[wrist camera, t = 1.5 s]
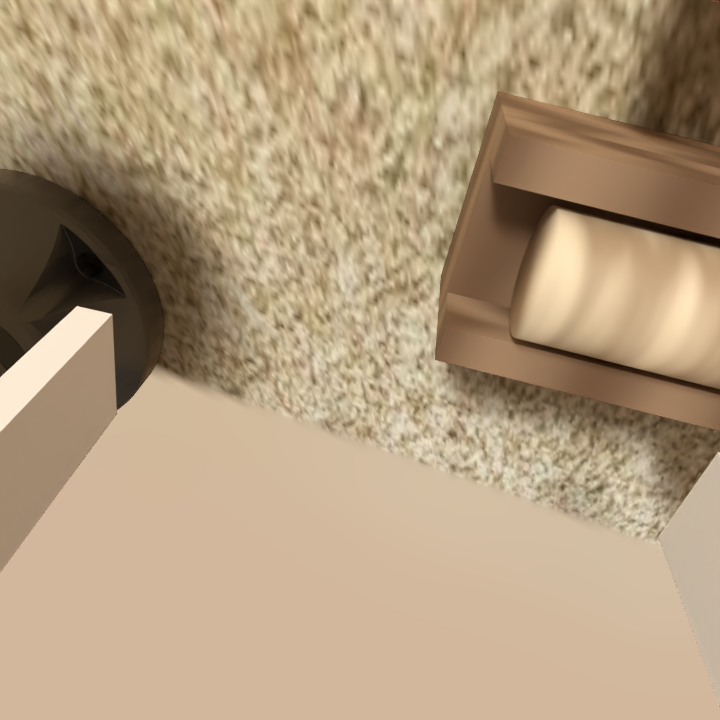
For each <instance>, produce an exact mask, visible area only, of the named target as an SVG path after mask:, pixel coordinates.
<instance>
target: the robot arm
mask: <svg viewBox="0 0 720 720" xmlns="http://www.w3.org/2000/svg"><path fill="white" fill-rule="evenodd" d="M163 335H164V322H163V314H162V308H161V304H160V300H159V296H158V293H157V290H156V287H155V285H154V283H153V280H152V278H151V276H150V274H149V272H148V270H147V268H146V266H145V265H144V263H143V261H142V259H141V258H140V256H139V255H138V253H137V252H136V250H135V249H134V248H133V246H132V245H131V244H130V242H129V241H128V240H127V239H126V238H125V237H124V235H123V234H122V233H121V232H120V231H119V230H118V229H117V228H116V227H115V226H114V225H113V224H112V223H111V222H110V221H109V220H108V219H107V218H106V217H105V216H104V215H102V214H101V213H100V212H99V211H98V210H97V209H95V208H94V207H93V206H91V205H90V204H89V203H87V202H86V201H84V200H83V199H81V198H80V197H78V196H77V195H75V194H73V193H72V192H70V191H68V190H66V189H64V188H62V187H61V186H59V185H57V184H54V183H52V182H50V181H47V180H45V179H42V178H39V177H37V176H34V175H30V174H27V173H23V172H18V171H13V170H6V169H0V572H1V571H2V570H3V568H4V567H5V566H6V564H7V563H8V561H9V560H10V559H11V557H12V556H13V555H14V553H15V552H16V551H17V549H18V548H19V546H20V545H21V544H22V542H23V541H24V540H25V538H26V537H27V536H28V534H29V533H30V531H31V530H32V529H33V527H34V526H35V525H36V523H37V522H38V520H39V519H40V518H41V516H42V515H43V514H44V512H45V511H46V510H47V508H48V507H49V506H50V504H51V503H52V501H53V500H54V499H55V497H56V496H57V495H58V493H59V492H60V491H61V489H62V488H63V487H64V485H65V484H66V482H67V481H68V480H69V478H70V477H71V476H72V474H73V473H74V471H75V470H76V469H77V467H78V466H79V465H80V463H81V462H82V461H83V459H84V458H85V457H86V455H87V454H88V452H89V451H90V450H91V448H92V447H93V446H94V444H95V443H96V441H97V440H98V439H99V437H100V436H101V435H102V433H103V432H104V430H105V429H106V428H107V427H108V425H109V424H110V422H111V421H112V420H113V418H114V417H115V415H116V414H117V410H118V409H119V408H121V407H122V406H123V405H124V404H125V403H127V402H128V401H129V400H130V399H131V397H133V396H134V394H135V393H136V392H137V390H138V389H139V388H140V387H141V385H142V384H143V383H144V381H145V380H146V379H147V377H148V376H149V375H150V374H151V372H152V370H153V369H154V367H155V365H156V363H157V361H158V358H159V356H160V353H161V349H162V344H163ZM658 537H659V540H660V543H661V546H662V548H663V551H664V554H665V557H666V559H667V562H668V565H669V568H670V571H671V573H672V576H673V579H674V582H675V584H676V587H677V589H678V593H679V595H680V598H681V601H682V604H683V606H684V609H685V612H686V615H687V617H688V620H689V623H690V626H691V628H692V631H693V634H694V637H695V640H696V642H697V645H698V648H699V650H700V653H701V656H702V659H703V661H704V664H705V667H706V670H707V673H708V675H709V678H710V681H711V684H712V687H713V689H714V692H715V695H716V698H717V700H718V703H719V706H720V453H719V452H718V453H717V454H716V455H715V457H714V458H713V460H712V461H711V463H710V464H709V465H708V467H707V468H706V470H705V471H704V473H703V474H702V475H701V477H700V478H699V480H698V481H697V482H696V484H695V485H694V487H693V488H692V490H691V491H690V492H689V494H688V495H687V497H686V498H685V500H684V501H683V502H682V504H681V505H680V507H679V508H678V509H677V511H676V512H675V514H674V515H673V517H672V518H671V519H670V521H669V522H668V524H667V525H666V527H665V528H664V529H663V531H662V532H661V534H660V535H659V536H658Z"/></svg>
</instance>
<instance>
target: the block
mask: <svg viewBox="0 0 720 720" xmlns="http://www.w3.org/2000/svg"><path fill="white" fill-rule="evenodd" d="M552 205H556V206H560V207H564V208H568V209H572V210H576V211H580V212H584V213H588V214H592V215H596V216H600V217H604V218H608V219H612V220H616V221H620V222H624V223H628V224H632V225H636V226H640V227H644V228H648V229H652V230H656V231H660V232H665V233H669V234H673V235H677V236H681V237H685V238H689V239H693V240H697V241H701V242H705V243H709V244H713V245H717V246H720V146H716V145H712V144H708V143H704V142H700V141H695V140H691V139H687V138H683V137H679V136H675V135H671V134H667V133H663V132H659V131H655V130H651V129H647V128H643V127H639V126H635V125H631V124H627V123H623V122H619V121H615V120H611V119H607V118H602V117H598V116H594V115H590V114H586V113H582V112H578V111H574V110H570V109H566V108H562V107H558V106H554V105H550V104H546V103H542V102H538V101H534V100H530V99H526V98H522V97H518V96H514V95H509V94H505V93H501V92H498V93H497V96H496V99H495V102H494V106H493V109H492V112H491V115H490V119H489V122H488V125H487V128H486V132H485V135H484V138H483V141H482V145H481V148H480V151H479V154H478V158H477V161H476V164H475V167H474V171H473V174H472V177H471V180H470V184H469V187H468V190H467V193H466V196H465V200H464V203H463V206H462V209H461V213H460V216H459V219H458V222H457V226H456V229H455V232H454V235H453V239H452V242H451V245H450V248H449V252H448V255H447V258H446V261H445V265H444V268H443V271H442V274H441V283H440V297H439V311H438V325H437V339H436V353H435V360H438V361H442V362H446V363H450V364H454V365H458V366H462V367H466V368H470V369H474V370H478V371H482V372H486V373H490V374H494V375H498V376H502V377H506V378H510V379H514V380H518V381H522V382H526V383H530V384H534V385H538V386H542V387H546V388H550V389H554V390H558V391H562V392H566V393H570V394H574V395H578V396H582V397H586V398H590V399H594V400H598V401H602V402H606V403H610V404H614V405H618V406H622V407H626V408H630V409H634V410H638V411H642V412H646V413H650V414H654V415H658V416H662V417H666V418H670V419H674V420H678V421H682V422H686V423H690V424H694V425H698V426H702V427H706V428H710V429H714V430H718V431H720V389H717V388H713V387H709V386H705V385H701V384H697V383H693V382H689V381H685V380H681V379H677V378H673V377H669V376H665V375H661V374H657V373H653V372H649V371H645V370H641V369H637V368H633V367H629V366H625V365H621V364H617V363H613V362H609V361H605V360H601V359H597V358H593V357H589V356H585V355H581V354H577V353H573V352H569V351H565V350H561V349H557V348H553V347H549V346H545V345H541V344H537V343H533V342H529V341H525V340H521V339H517V338H514V337H513V336H512V334H511V331H510V311H511V303H512V297H513V292H514V288H515V283H516V280H517V276H518V272H519V269H520V265H521V262H522V259H523V256H524V253H525V251H526V248H527V245H528V243H529V240H530V238H531V236H532V234H533V231H534V229H535V227H536V225H537V223H538V222H539V220H540V218H541V217H542V215H543V214H544V212H545V211H546V210H547V209H548V208H549V207H550V206H552Z"/></svg>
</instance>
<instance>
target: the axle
mask: <svg viewBox="0 0 720 720" xmlns="http://www.w3.org/2000/svg"><path fill="white" fill-rule="evenodd" d="M510 331H511V334H512V336H513V337H514V338H517V339H521V340H525V341H529V342H533V343H537V344H541V345H545V346H549V347H553V348H557V349H561V350H565V351H569V352H573V353H577V354H581V355H585V356H589V357H593V358H597V359H601V360H605V361H609V362H613V363H617V364H621V365H625V366H629V367H633V368H637V369H641V370H645V371H649V372H653V373H657V374H661V375H665V376H669V377H673V378H677V379H681V380H685V381H689V382H693V383H697V384H701V385H705V386H709V387H713V388H717V389H720V246H717V245H713V244H709V243H705V242H701V241H697V240H693V239H689V238H685V237H681V236H677V235H673V234H669V233H665V232H660V231H656V230H652V229H648V228H644V227H640V226H636V225H632V224H628V223H624V222H620V221H616V220H612V219H608V218H604V217H600V216H596V215H592V214H588V213H584V212H580V211H576V210H572V209H568V208H564V207H560V206H556V205H552V206H550V207H549V208H548V209H547V210H546V211H545V212H544V214H543V215H542V217H541V218H540V220H539V222H538V223H537V225H536V227H535V229H534V231H533V234H532V236H531V238H530V240H529V243H528V245H527V248H526V251H525V253H524V256H523V259H522V262H521V265H520V269H519V272H518V276H517V280H516V283H515V288H514V292H513V297H512V303H511V311H510Z"/></svg>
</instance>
